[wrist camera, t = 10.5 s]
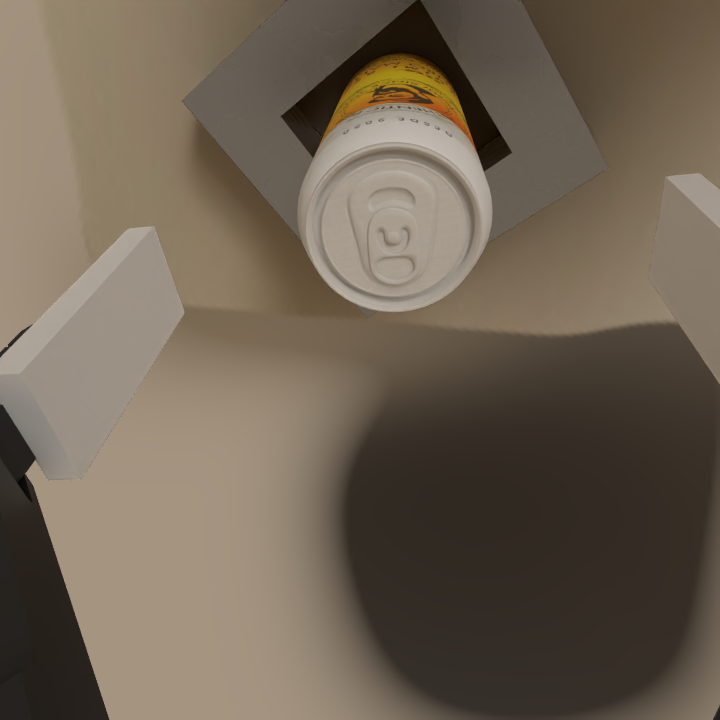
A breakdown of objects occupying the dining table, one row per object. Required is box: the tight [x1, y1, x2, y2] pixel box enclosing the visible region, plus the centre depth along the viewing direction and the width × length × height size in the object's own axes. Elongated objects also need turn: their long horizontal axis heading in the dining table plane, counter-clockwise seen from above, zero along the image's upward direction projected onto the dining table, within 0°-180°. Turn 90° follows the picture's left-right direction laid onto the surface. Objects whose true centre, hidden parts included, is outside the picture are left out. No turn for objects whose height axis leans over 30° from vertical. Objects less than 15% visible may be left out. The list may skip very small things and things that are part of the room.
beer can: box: [297, 53, 492, 312], centre depth 23 cm, size 6×6×15 cm
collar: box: [182, 0, 609, 318], centre depth 28 cm, size 14×14×4 cm
